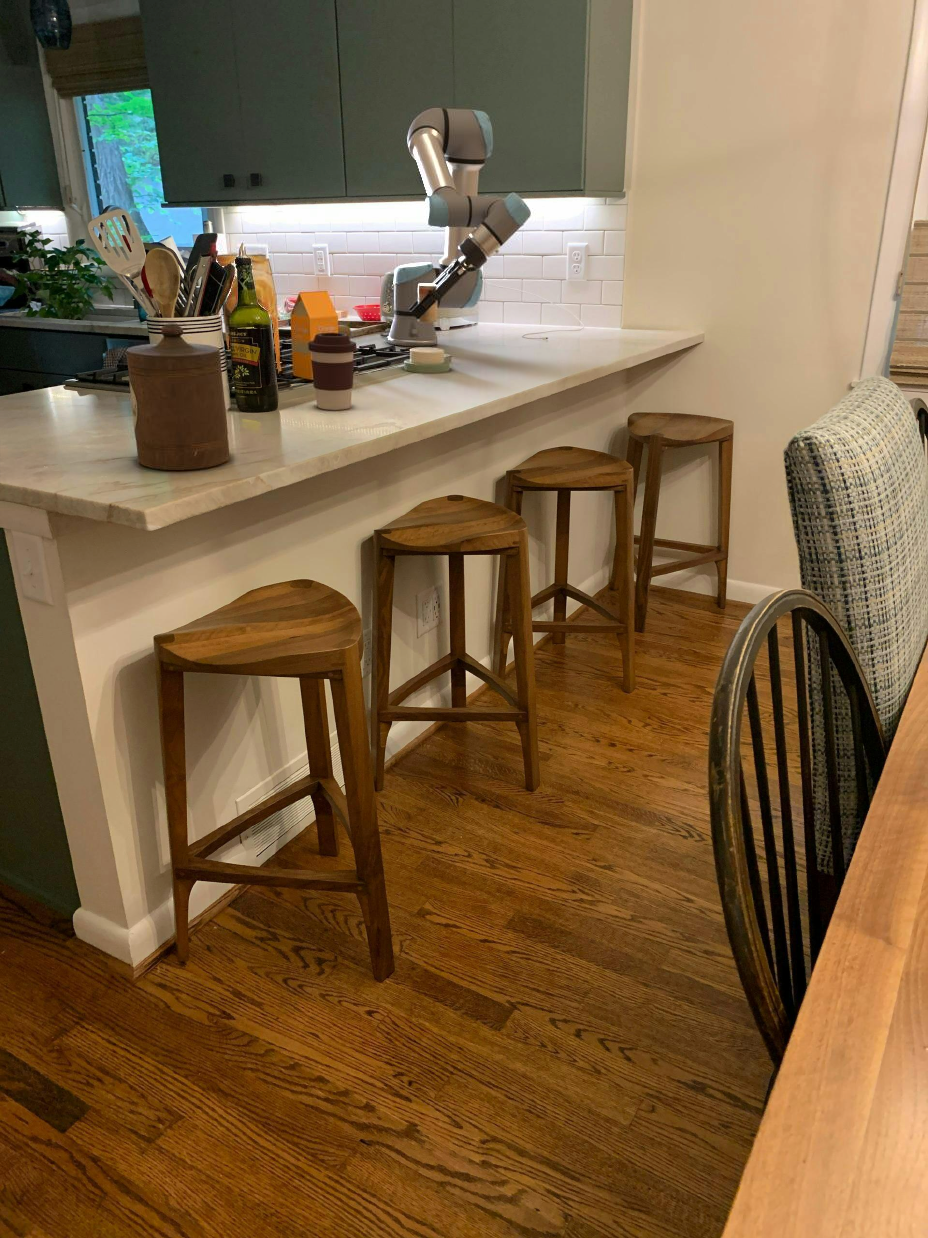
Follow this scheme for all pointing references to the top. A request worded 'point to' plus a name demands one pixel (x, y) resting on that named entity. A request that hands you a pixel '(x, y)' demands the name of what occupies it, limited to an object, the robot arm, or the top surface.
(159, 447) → the wooden container
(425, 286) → the cylinder
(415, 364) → the disc stack
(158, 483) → the top surface
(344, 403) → the coffee cup
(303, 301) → the orange juice
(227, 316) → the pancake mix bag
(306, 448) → the top surface
